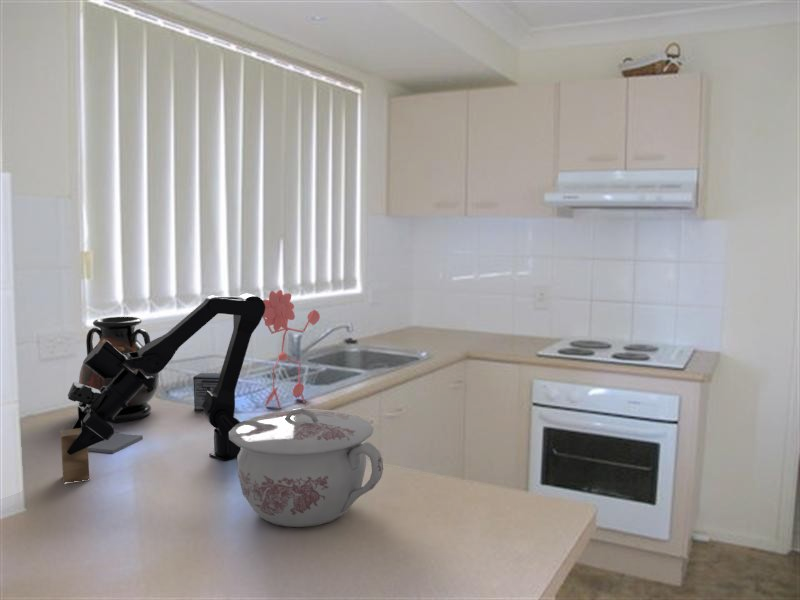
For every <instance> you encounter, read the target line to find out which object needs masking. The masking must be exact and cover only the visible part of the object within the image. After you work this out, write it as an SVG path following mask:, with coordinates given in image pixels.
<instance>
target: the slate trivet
mask: <svg viewBox="0 0 800 600" xmlns="http://www.w3.org/2000/svg"><path fill="white" fill-rule="evenodd" d="M143 438H144V436H143V435H141V434H130V433H120V432H118V433H117V432H114V434H113V435H112V436H111V437H110V438H109V439H108V440H104V441H101V442H98V443H96V444H93V445H91V446H89V447H88V452H94V451H95V452H97V453H107V454H114V453H116V452H119V451H120V450H123V449H125V448H126V447H128V446H131V445H133V444H134V443H137V442H139V441H141V440H143ZM95 452H94V453H95Z"/></svg>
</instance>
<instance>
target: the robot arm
mask: <svg viewBox="0 0 800 600" xmlns="http://www.w3.org/2000/svg"><path fill="white" fill-rule="evenodd" d="M263 300H264V299H262V298H261V297H258V296H256V295H254V294H251V293H243V294H241V295H239V296H218V295H217V296H216V295H209V296H207V297H206V298H205V299H204V300H203V302H202V303H200V304H199V305H197V307H196V308H195V309H193V310H192V311H191V312H189V314H187V315H186V316H185V317H184V318H183V319H182V320H180V321H179V322H178V323H177V324H176V325H175V326H173V328H171V329H170V330H169V331H168V332H166V333H165V334H164V335H161V336H159V337H156V338H155V339H152V340H150V342H149V343H148V344H146V345H145V344H144V345H143V347H141V348H140V349H139V350H138V351H135V352H130V353H125V354H122V353H120V352H119V351H118V350H117V349H116V348H114V347H113V346H112V344H111V343H110V342H108V341H107V340H105V341H104V342H103V343H102V344H101V345H99V346H98V347H97V348H96V349H94V348H93V350H92V351H91V352H90V353H89V355H88V356H87V355H86V357H85V359H84V360H83V361H82V365H83V364H85V365H86V366H87V367H89V368H90V369H91V370H92V371H94V372H95V373H96V374H97V375H99V376H100V377H101V378H103V379H106V378H107V377H108V378H109V379H112V378H113V377H115V376H116V375H117V374H118V373H119V372H120V370H121V369H122V368H124V369H123V370H122V371H121V372H120V373H119V374H118V375H117V377H116V378H115V379H114V380H113V381H112V382H111V383H110V384H109V385H108V386H102V387H101V388H100V389H99V390H98V389H95V388H92V387H89V386H86V385H83V384H80V383H79V382H76V381H73V382H72V384H71V387H70V389H69V391H68V394H67V399H68V400H69V401H72V402H78V406H77V419H76V420H75V423H74V424H73V425H72V427H71V429H76V428H81V431H80V433H79V434H78V436H77V437H76V438H75V440H74V441H73V443H72V444H71V446H70V447H69V449H68V450H67V453H68V454H70V455H72V454H74V453H76V452H78V451H80V450H82V449H84V448H87V447H89V446H91V445H93V444H96V443H98V442H101V441H104V440H108V439H109V438H110V437H111V436H112V435H113V434H114V433H115V428H114V425H113V423H114V422H113V421H114V419H113V418H114V417H115V416H116V415H117V414H118V413H119V412H120V410H121V409H122V408H123V409H126V407H127V406H128V405H127V403H128V402H129V401H130V400H131V399H132V398H133V397H134V395H135V394H136V393H137V392H138V391H139V390H140V389H141V388H142V387H143V386H144V385H145V386H147V387H148V388H149V389H150V390H153V389H154V388H153V379H154V378H153V377H152V376H146V375H144V374H143V373H142V372H141V371H139V370H138V369H142V370H143V371H144V372H146V373H149V374H156V373H159V374H160V372H162V371H163V370H164V369H165V368H166V366H167V365H168V364H169V363H170V361H171V360H172V359H173V357H174V356H175V354H176V353H177V351H178V350H179V349H180V348H181V346H182V345H184V343H186V342H187V341H188V340H189V339H191V337H193V336H194V335H195V334H197V332H198V331H200V330H201V329H202V328H203V327H204V326H205V325H206V324H208V323H209V322H210V321H211V320H212V319H214V318H215V317H216V316H217V315H219V314H220V315H233V320H232V321H233V330H232V333H231V337H230V341H229V343H228V345H227V346H228V347H227V350H226V354H225V356H224V361H223V364H222V367H221V371H220V373H221V374H220V377H219V380H218V384H217V386H216V388H215V389H214V390H213V392H209V391H206V396H205V401H204V403H203V404H202V408H203V409H204V410H203V411H202V414H203V416H204V417H205V419H206V421H207V422H208V423H209V424H210V425H211V426H212V427H213V428H214V429H213V434H214V435H213V444H214V448H213V449H214V451H212V452H209V453H208V455H209V456H210V457H213V458H214V459H218V460H221V461H223V462H224V461H225V462H226V461H229V460H233V459H237V456H238V454H239V452H240V450H241V447H239V446H237V445H236V444H235V443H233V442H232V441H231V440H229V431H230V430H231V429H232V428H233V427H234V426H235V425H236V424H238V423H240V422H241V421H240V420H239V419H238V418H237V417H236V416H235V410H236V409H235V408H236V396H235V395H236V394H235V393H236V388H237V385H238V380H239V378H240V374H241V372H242V367H243V365H244V362H245V357H246V354H247V350H248V347H249V343H250V341H251V338H252V334H253V333H254V331H255V330H256V328H257V327H259V325H260V323H261V321H262V319H263V315H264V313H265V304H264V302H263ZM124 363H126V364H128V365H129V366H130V367H131V368H137V369H136V370H134V371H132V370H131V369H130V368H128V367H127V366H126V365H125V364H124Z"/></svg>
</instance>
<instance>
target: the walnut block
mask: <svg viewBox="0 0 800 600" xmlns="http://www.w3.org/2000/svg"><path fill="white" fill-rule="evenodd" d="M80 431H81V428H76V429H72V428H68V429H61V430H60V431H59V432H60V444H61V445H60V447H61V466H62V467H61V468H62V480H64V481H63V484H64V483H65V482H74V481H82V480H88V479H89V480H90V469H89V451H88V447H87V448H84V449H82V450H80V451H78V452H76V453H74V454H72V455H70V454H68V453H67V450H68V449H69V447H70V446H71V444H72V443H73V441H74V440H75V438H76V437H77V436H78V434H79V433H80ZM82 482H83V481H82Z"/></svg>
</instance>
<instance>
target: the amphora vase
mask: <svg viewBox="0 0 800 600" xmlns="http://www.w3.org/2000/svg"><path fill="white" fill-rule="evenodd" d="M141 323H142V319H141V318H140V317H135V316H111V317H102V318H97V319H95V320H93V322H92V324H93V327H92V328H90V329H89V330H88V332H87V335H86V339H85V340H86V342H85V343H86V344H85V345H86V357H87V356H88V355H89V353H90V352H91V351H92V350H93V349H96V348H97V347H98V346H99V345H101V344H102V343H103V342H104V341H105V340H107V341H108V342H110V343H111V344H112V346H113V347H114V348H116V349H117V350H118V351H119V352H120V353H122V354H125V353H130V352H135V351H138V350H139V349H140V348H141V347H143V346H144V345H146V344H148V343H149V342H151V337H150V334H149V333H148V331H147V330H145V329H143V328H139V329H136V330H135V328H136V327H137V326H138V325H140V324H141ZM95 333H96V334H97V335H98V338H99V341H98V343H97V344H96V345H95V346H94V345H93V339H94V334H95ZM139 334H140V335H142V338H143V342H144V345H143V344H142V343H141V342H140V341H139V340H138V335H139ZM124 364H125V365H126V366H127V367H128V368H130V369H131V370H132V371H134V370H136V369H137V368H131V367H130V366H129V365H128V364H126V363H124ZM123 369H124V368H122V369H121V370H120V372H121V371H122V370H123ZM138 370H139V371H141V372H142V373H143V374H144V375H146V376H152V377H153V378H154V379H153V388H154V389H153V390H150V389H149V388H148V387H147V386H145V385H144V386H143V387H142V388H141V389H140V390H139V391H138V392H137V393H136V394H135V395H134V397H133V398H132V399H131V400H130V401H129V402H128V403H127V405H128V406H127V407H126V409H123V408H122V409H121V410H120V412H119V413H118V414H117V415H116V416H115V417H114V418H113V419H114V421H113V422H112V423H121V422H129V421H133V420H138V419H141V418H143V417H146V416H148V415H149V414H150V413H151V411H152V408H153V407H152V406H151V405H150V404H149V402H151V400H153V398H154V397H155V395H156V393H157V392H158V389H159V386H160V372H159V373H156V374H149V373H146V372H144V371H143V370H142V369H138ZM120 372H119V373H120ZM119 373H118V374H119ZM118 374H117V375H118ZM117 375H116V376H115V377H113V378H112V379H109V378H108V377H107V378H106V379H103V378H101V377H100V376H99V375H97V374H96V373H95V372H94V371H92V370H91V369H90V368H89V367H87V366H86V365H85V364H83V363H82V365H81V367H80V371H79V376H78V377H79V378H78V383H80V384H83V385H86V386H89V387H92V388H95V389H98V390H99V389H100V388H101V387H102V386H108V385H109V384H110V383H111V382H112V381H113V380H114V379H115V378H116V377H117Z"/></svg>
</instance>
